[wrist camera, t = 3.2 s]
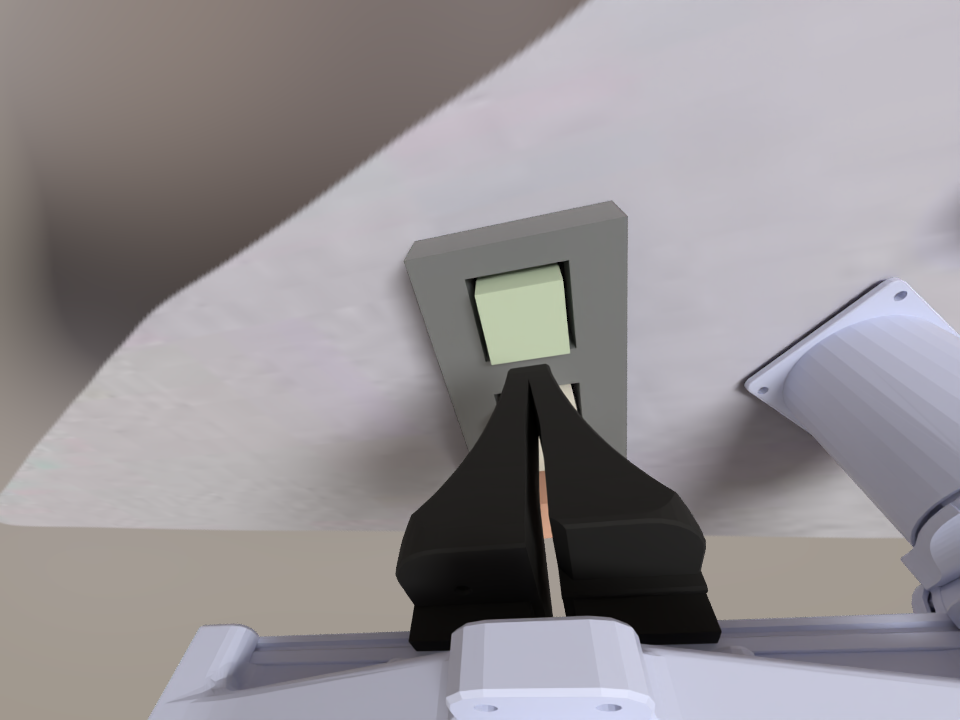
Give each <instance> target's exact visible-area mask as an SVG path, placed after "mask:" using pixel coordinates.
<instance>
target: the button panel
mask: <svg viewBox="0 0 960 720" xmlns="http://www.w3.org/2000/svg"><path fill="white" fill-rule="evenodd" d="M627 252H628V216H627V215H626V214H625V213H624V212H623V211H622V210H621V209H620V208H619V207H618V206H617V205H616V204H615V203H614V202H613V201H608V202H603V203H598V204H593V205H588V206H583V207H579V208H574V209H569V210H564V211H559V212H555V213H550V214H545V215H540V216H535V217H530V218H526V219H521V220H516V221H511V222H506V223H502V224H497V225H492V226H487V227H482V228H477V229H473V230H468V231H463V232H458V233H453V234H449V235H444V236H439V237H434V238H429V239H425V240H420V241H415V242H414V244H413V246H412V247H411V249H410V251H409V253H408V254H407V256H406V258H405V260H404V263H405V266H406V269H407V272H408V275H409V277H410V280H411V283H412V286H413V289H414V292H415V295H416V298H417V301H418V304H419V307H420V310H421V313H422V316H423V319H424V322H425V324H426V327H427V330H428V333H429V336H430V339H431V342H432V345H433V348H434V351H435V354H436V357H437V360H438V363H439V366H440V368H441V371H442V374H443V377H444V380H445V383H446V386H447V389H448V392H449V395H450V398H451V401H452V404H453V407H454V410H455V413H456V415H457V418H458V421H459V424H460V427H461V430H462V433H463V436H464V439H465V442H466V445H467V448H468V451H469V452H470V451H471V450H472V448H473V447H474V445H475V443H476V442H477V440H478V439H479V437H480V436H481V434H482V432H483V430H484V429H485V427H486V425H487V423H488V421H489V419H490V417H491V415H492V413H493V411H494V409H495V407H496V404H497V402H498V400H499V397H500V395H501V392H502V390H503V387H504V384H505V381H506V377H507V373H508V371H509V370H510V369H512V368H519V367H525V366H532V365H539V364H547V365H549V366H550V369H551V372H552V374H553V376H554V378H555V380H556V382H557V383H558V385H565V384H573V383H575V392H576V403H577V411H578V413H579V414H580V415H581V416H582V417H583V419H584V420H585V421H586V422H587V423H588V424H589V425H590V426H591V427H592V428H593V429H594V430H595V431H596V432H597V433H598V434H599V435H600V436H601V437H602V438H603V439H604V440H605V441H606V442H607V443H608V444H609V445H610V446H611V447H613V448H614V449H615V450H616V451H618V452H619V453H620V454H621V455H622V456H624V457H625V458H626V459H627ZM561 261H563V265H564V276H565V286H566V297H567V308H568V318H569V322H567V325H568V336H569V346H570V353H569V354H563V355H556V356H549V357H542V358H536V359H529V360H522V361H516V362H509V363H502V364H495V365H491V360H490V356H489V352H488V348H487V344H486V340H485V336H484V332H483V328H482V324H481V320H480V315H479V311H478V307H477V303H476V299H475V288H476V287H475V283H474V279H473V278H476V277H481V276H486V275H492V274H497V273H502V272H508V271H513V270H518V269H524V268H529V267H534V266H540V265H545V264H550V263H556V262H561Z"/></svg>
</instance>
